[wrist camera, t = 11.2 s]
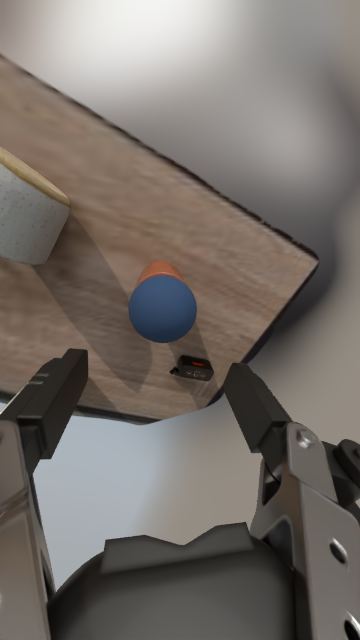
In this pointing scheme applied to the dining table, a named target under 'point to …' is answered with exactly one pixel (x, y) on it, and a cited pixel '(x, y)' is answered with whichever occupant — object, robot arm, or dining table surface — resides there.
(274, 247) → the dining table surface
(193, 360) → the wireless earbuds
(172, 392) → the dining table surface
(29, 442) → the robot arm
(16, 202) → the ceramic mug
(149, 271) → the cup
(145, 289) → the ball
